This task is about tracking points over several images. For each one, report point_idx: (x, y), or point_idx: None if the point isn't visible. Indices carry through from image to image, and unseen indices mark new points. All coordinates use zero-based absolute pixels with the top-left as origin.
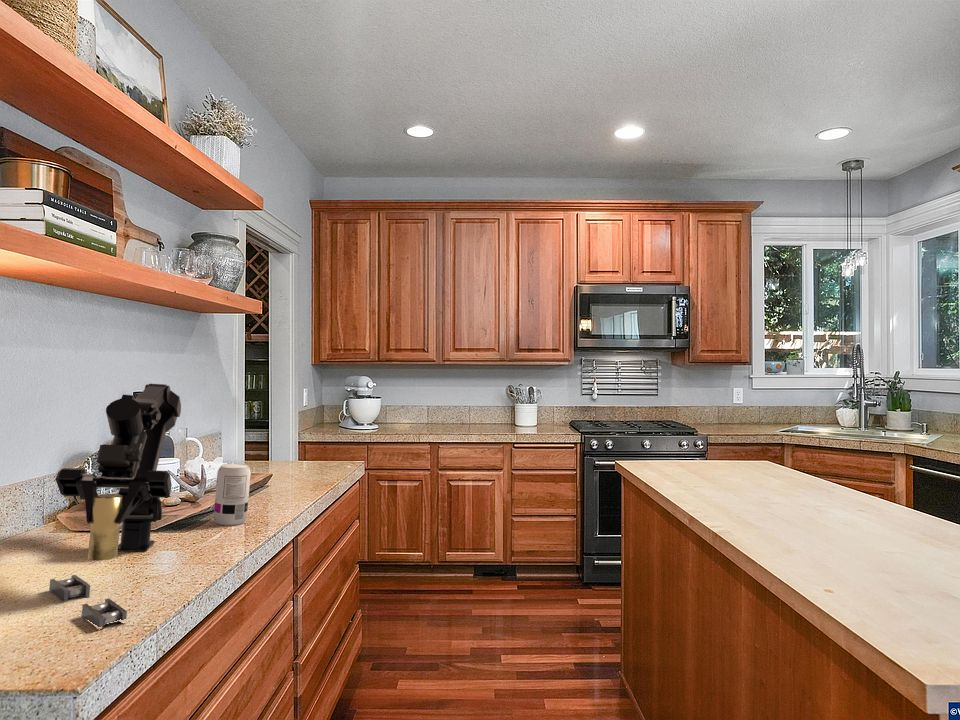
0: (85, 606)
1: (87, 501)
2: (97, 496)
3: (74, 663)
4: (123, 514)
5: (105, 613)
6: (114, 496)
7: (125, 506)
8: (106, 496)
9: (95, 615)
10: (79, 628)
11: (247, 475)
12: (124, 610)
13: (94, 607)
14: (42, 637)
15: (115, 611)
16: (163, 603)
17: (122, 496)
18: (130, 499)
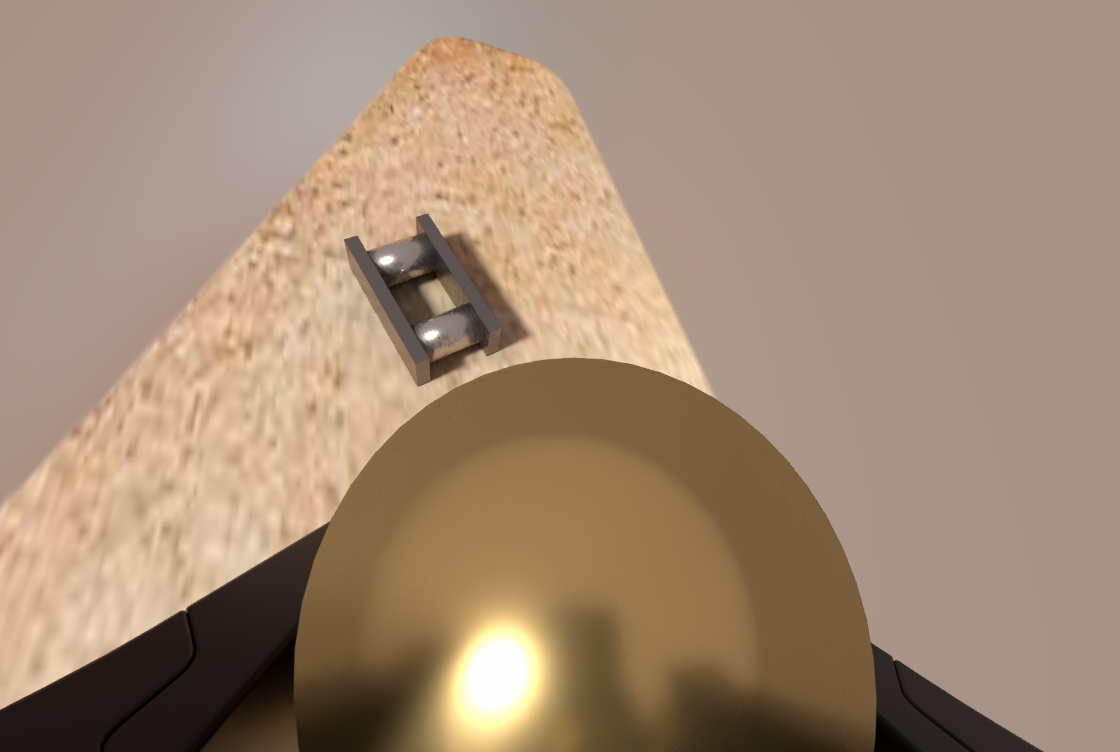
0: (488, 307)
1: (901, 681)
2: (807, 621)
3: (460, 108)
4: (322, 528)
5: (414, 245)
6: (481, 631)
7: (273, 583)
8: (644, 622)
9: (444, 240)
10: (486, 271)
11: None
12: (352, 245)
13: (458, 309)
14: (568, 243)
15: (382, 251)
16: (195, 413)
17: (296, 641)
18: (120, 668)
